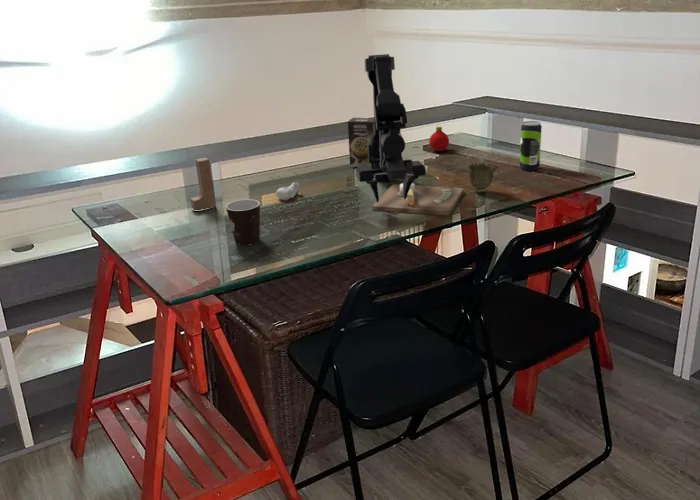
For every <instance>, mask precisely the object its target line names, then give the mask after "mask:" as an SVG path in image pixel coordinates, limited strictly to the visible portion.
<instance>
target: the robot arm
mask: <svg viewBox="0 0 700 500" xmlns="http://www.w3.org/2000/svg"><path fill="white" fill-rule="evenodd" d="M395 69H396V67H395V56H390V54H389V53H384V54H373V55H372V54H370V55H368V58H364V70H365V71H364V72H365V73H367V78H368V80H369V81H370V83H371V85H372V93H373V95H372V97H373V118H374V129H375V130H374V131H373V133H372V135H371V136H370V144H368V161H369V163H371V167H370V166H362V167H357V168H356V169H355V177H356V178H357V179H358V181H359V182H362V183H364V182H365V184H368V185H369V186H370V188H371V191H372V194H373V196H374V198H375V202H376V201H377V202H379V198H380V196H379V191H378V190H379V189H378V183H390V182H392V181H395V180H403V181H402V183H403V197H404V199H406V197H407V194H408V192H409V189H410V186H411V184H412V183H414V181H415V180H416V179H417V180H418V179H419V177H420V176H421V177H422V176H426V173H427V170H426V166H425V165H424V164H423V163H422V162H420V161H419V160H414V161H413V160H412V159H410V158H409V159H404V158H403V155H402V153H403V152H404V151H405V149H406V141H405V139H404V138H403V135H402V133H401V129H406V128H407V126H406V125H407V123H408V119H407V110H406V107H405V105H404V103H401V97H400V95H399V94H398V93H397V92H395V89H394V82H393V71H395Z"/></svg>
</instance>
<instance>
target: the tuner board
mask: <svg viewBox="0 0 700 500" xmlns="http://www.w3.org/2000/svg"><path fill="white" fill-rule="evenodd" d="M462 193H464V188H461V187H446V186H445V187H444V186H428V185H425V186H424V185H415V194H414V204H413V206H410V204H408V202H407V199H404V197H403V195H401V194H400V184H391V186H390V187H388V189H387V190H386V191H385V192H383V194H381V196H379V202H377V201H376V200H375V202H374V203H373V204H372V206H371V210H372V211H378V212H379V211H382V212H395V213H408V214H409V213H410V214H421V215H422V214H424V215H436V216H437V215H439V216H449V215H450V213H451V212H452V211H453V209H454V208H455V206H456V204H457V203H458V202H459V200H460V198H461V197H462V195H463V194H462ZM461 194H462V195H461ZM460 196H461V197H460ZM458 199H459V200H458ZM456 202H457V203H456Z"/></svg>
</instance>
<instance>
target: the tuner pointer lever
mask: <svg viewBox="0 0 700 500" xmlns="http://www.w3.org/2000/svg"><path fill="white" fill-rule="evenodd" d="M399 185H400V194H401V195H403V182H402V183H400V184H399ZM415 186H416V184H415V183H414V182H412V184H411V186H410V189H409V192H408V194H407V197H406V199H407V202H408V204H410V206H413V204H414V194H415Z"/></svg>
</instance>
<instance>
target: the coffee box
mask: <svg viewBox="0 0 700 500" xmlns="http://www.w3.org/2000/svg"><path fill="white" fill-rule="evenodd" d="M347 129H348V130H347V133H348V153H349V155H348V156H349V167H350V168H354V167H362V166H370V167H371V163H369V161H368V144H370V136H371V135H372V133H373V131H374V130H375V129H374V117H352V118H351V119H349V120H348V121H347Z"/></svg>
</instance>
